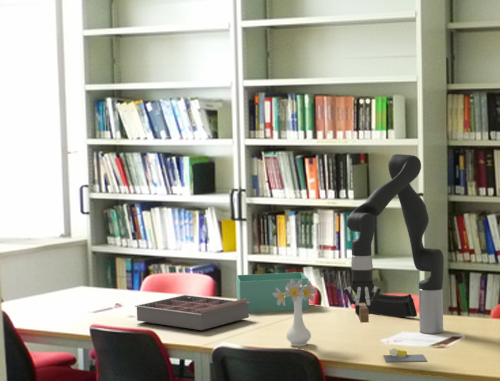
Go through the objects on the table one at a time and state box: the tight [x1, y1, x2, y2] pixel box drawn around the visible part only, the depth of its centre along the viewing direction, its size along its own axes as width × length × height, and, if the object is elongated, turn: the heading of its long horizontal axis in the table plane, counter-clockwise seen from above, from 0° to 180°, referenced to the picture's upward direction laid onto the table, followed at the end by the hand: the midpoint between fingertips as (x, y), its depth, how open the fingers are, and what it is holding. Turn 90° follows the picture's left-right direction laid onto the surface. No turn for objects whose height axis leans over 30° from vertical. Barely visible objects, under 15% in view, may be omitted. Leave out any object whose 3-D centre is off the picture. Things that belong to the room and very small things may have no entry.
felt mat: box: [383, 353, 428, 363], centre depth 304 cm, size 9×14×1 cm, turn 87°
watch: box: [388, 348, 408, 357], centre depth 309 cm, size 6×3×6 cm
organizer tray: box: [134, 294, 250, 331], centre depth 381 cm, size 32×40×10 cm
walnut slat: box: [357, 303, 370, 323], centre depth 315 cm, size 14×3×4 cm, turn 178°
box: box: [235, 271, 310, 313], centre depth 411 cm, size 21×32×14 cm, turn 95°
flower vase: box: [272, 278, 318, 347], centre depth 330 cm, size 13×18×25 cm
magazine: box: [359, 290, 418, 318], centre depth 382 cm, size 17×3×30 cm
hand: (362, 315), depth 315 cm, fingers closed on walnut slat, 2 cm apart
